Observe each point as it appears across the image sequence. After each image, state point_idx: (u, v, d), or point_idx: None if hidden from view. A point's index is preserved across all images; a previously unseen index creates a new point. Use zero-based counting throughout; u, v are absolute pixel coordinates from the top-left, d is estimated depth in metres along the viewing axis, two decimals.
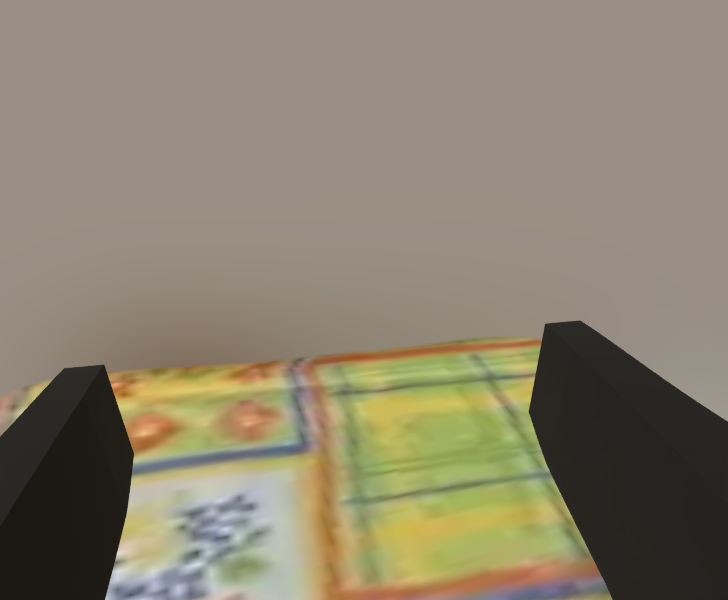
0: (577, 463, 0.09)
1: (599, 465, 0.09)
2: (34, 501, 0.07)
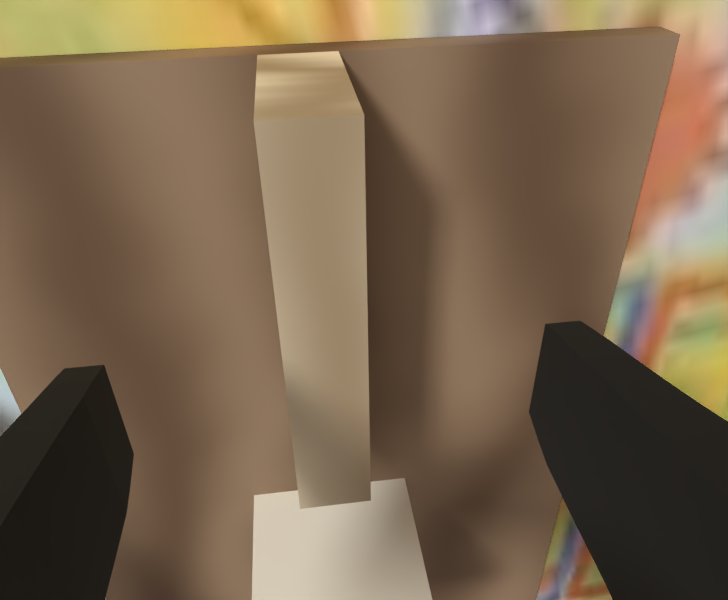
0: (577, 463, 0.09)
1: (599, 465, 0.09)
2: (34, 501, 0.07)
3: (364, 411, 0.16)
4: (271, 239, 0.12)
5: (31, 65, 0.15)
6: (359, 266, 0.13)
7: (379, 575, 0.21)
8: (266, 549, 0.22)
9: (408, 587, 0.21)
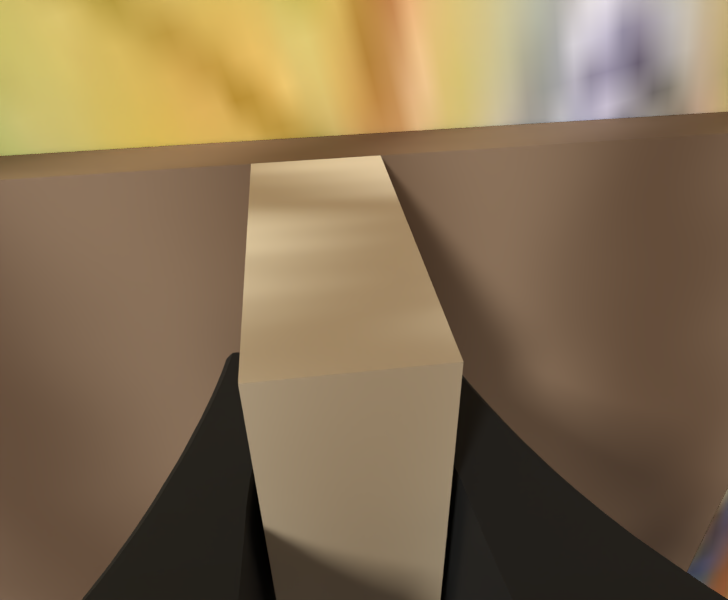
0: None
1: None
2: None
3: None
4: (274, 547, 0.07)
5: None
6: (430, 570, 0.07)
7: None
8: None
9: None
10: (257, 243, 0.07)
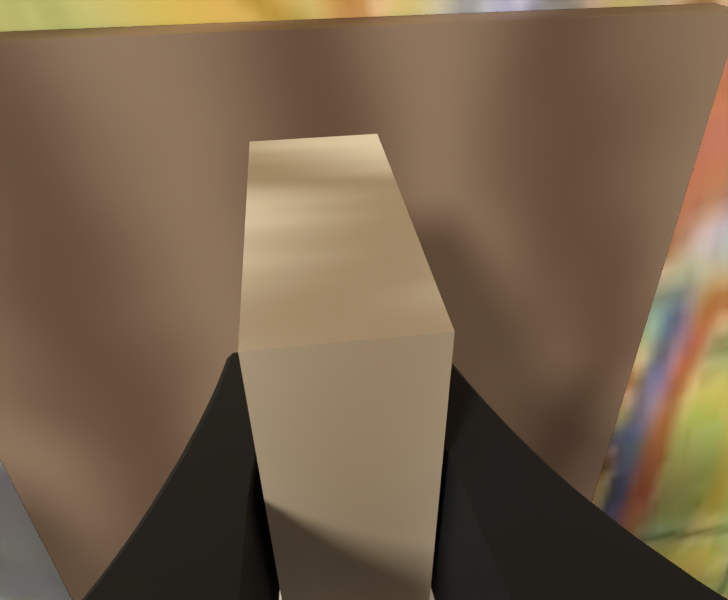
0: None
1: None
2: (256, 476, 0.07)
3: None
4: (273, 511, 0.07)
5: None
6: (423, 534, 0.08)
7: None
8: None
9: None
10: (256, 218, 0.08)
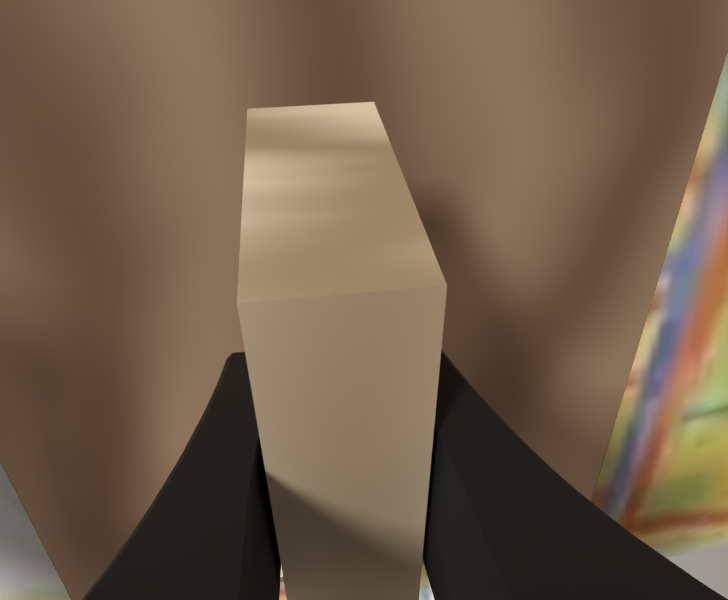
0: None
1: None
2: (256, 476, 0.07)
3: None
4: (270, 464, 0.07)
5: None
6: (416, 489, 0.08)
7: None
8: None
9: None
10: (254, 181, 0.08)
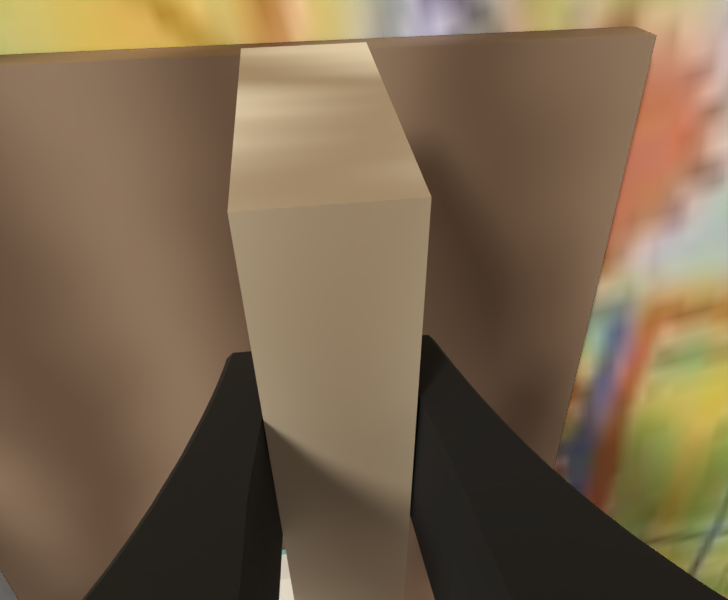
0: (414, 482, 0.09)
1: (424, 486, 0.09)
2: (256, 476, 0.07)
3: (397, 572, 0.11)
4: (263, 383, 0.08)
5: None
6: (405, 412, 0.08)
7: None
8: None
9: None
10: (246, 110, 0.08)
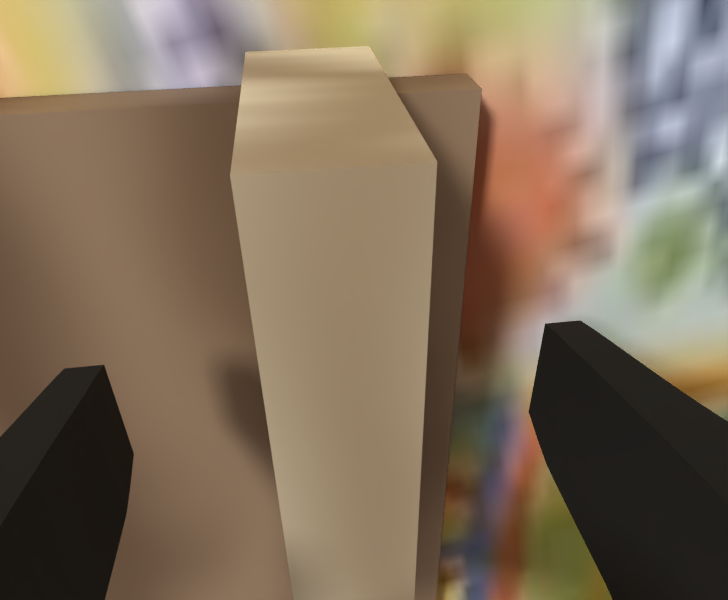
0: (577, 463, 0.09)
1: (599, 465, 0.09)
2: (34, 501, 0.07)
3: (406, 590, 0.10)
4: (265, 368, 0.07)
5: None
6: (412, 403, 0.08)
7: None
8: None
9: None
10: (250, 97, 0.08)
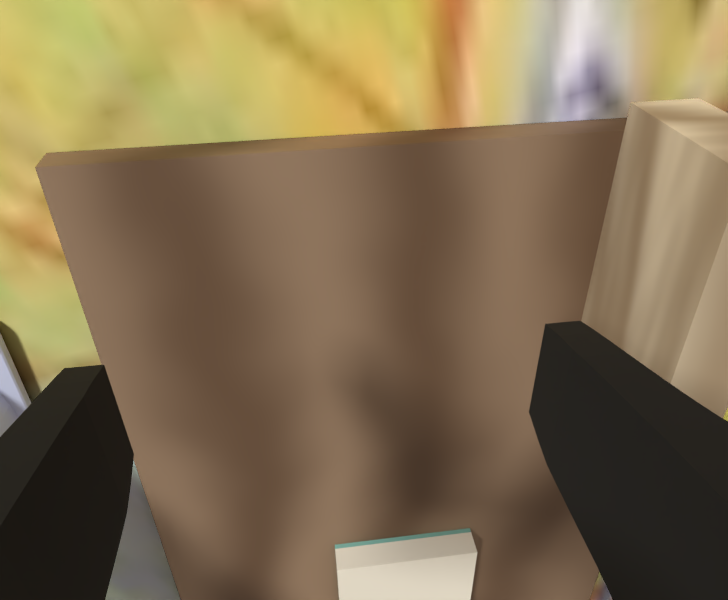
0: (577, 463, 0.09)
1: (599, 465, 0.09)
2: (34, 501, 0.07)
3: None
4: (712, 271, 0.14)
5: (180, 157, 0.16)
6: None
7: None
8: None
9: None
10: (685, 133, 0.15)
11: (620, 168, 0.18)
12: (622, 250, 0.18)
